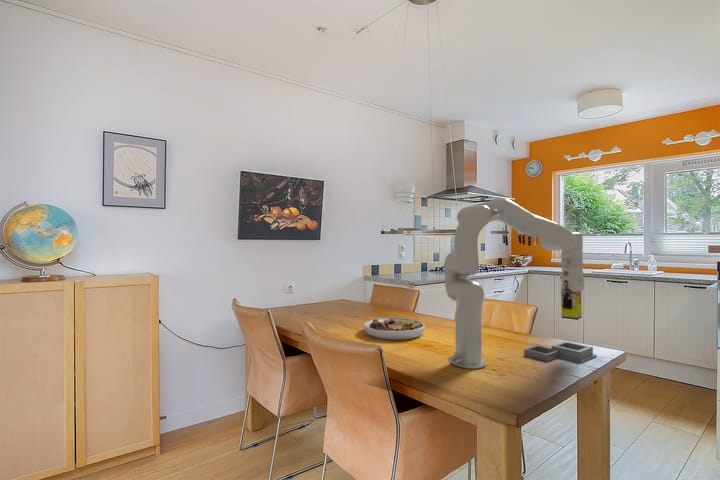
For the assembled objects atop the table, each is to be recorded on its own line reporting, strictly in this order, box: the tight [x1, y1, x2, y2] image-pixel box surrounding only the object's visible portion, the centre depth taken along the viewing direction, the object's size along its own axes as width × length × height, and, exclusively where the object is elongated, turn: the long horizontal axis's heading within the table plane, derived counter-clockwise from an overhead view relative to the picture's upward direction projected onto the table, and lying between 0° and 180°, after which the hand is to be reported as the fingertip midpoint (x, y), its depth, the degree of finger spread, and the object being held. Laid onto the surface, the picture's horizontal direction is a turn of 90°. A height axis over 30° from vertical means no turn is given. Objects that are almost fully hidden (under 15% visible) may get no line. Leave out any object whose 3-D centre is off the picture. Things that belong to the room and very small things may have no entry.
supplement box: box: [560, 290, 583, 321], centre depth 153 cm, size 6×6×11 cm
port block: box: [550, 340, 598, 364], centre depth 153 cm, size 13×13×4 cm
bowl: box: [363, 317, 426, 341], centre depth 190 cm, size 30×30×8 cm
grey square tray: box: [523, 344, 560, 362], centre depth 153 cm, size 10×10×2 cm
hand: (571, 307), depth 153 cm, fingers closed on supplement box, 6 cm apart
